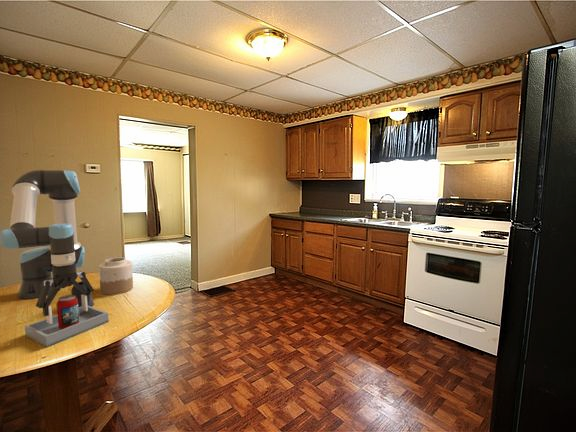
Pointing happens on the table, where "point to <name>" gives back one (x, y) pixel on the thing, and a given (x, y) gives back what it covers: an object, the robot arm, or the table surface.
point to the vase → (115, 276)
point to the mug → (78, 295)
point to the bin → (54, 334)
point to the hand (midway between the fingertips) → (68, 316)
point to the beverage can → (67, 311)
